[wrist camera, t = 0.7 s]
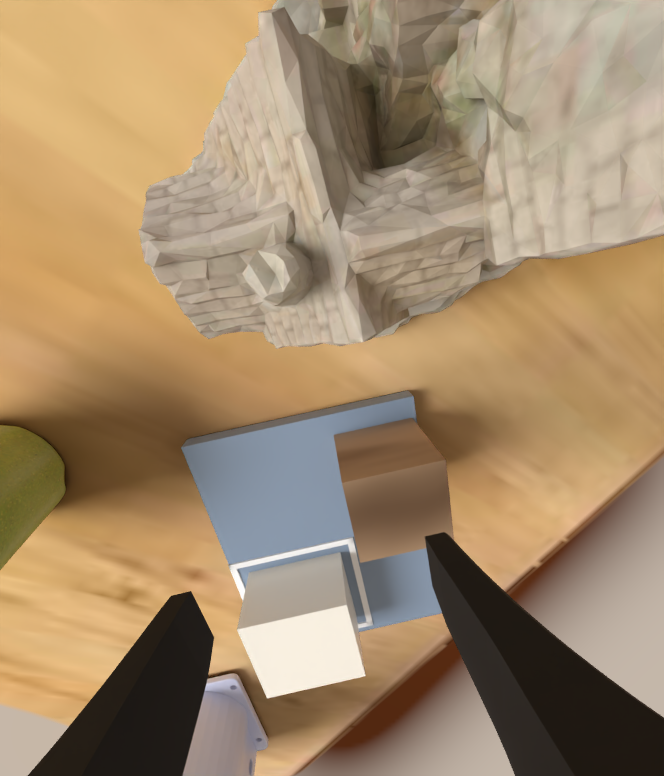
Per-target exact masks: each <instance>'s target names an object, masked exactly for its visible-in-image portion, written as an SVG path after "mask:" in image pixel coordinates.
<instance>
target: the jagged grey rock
mask: <svg viewBox="0 0 664 776" xmlns="http://www.w3.org/2000/svg"><path fill="white" fill-rule="evenodd" d="M258 21H259V36H257V37H256V38H254V39H252V40H251V41H249V42H247V43H245V46H246V55H245V57H244V58H243V60H242V61H241V63H240V64H239V66H238V67H237V69H236V71H235V72H234V74H233V75H232V77H231V78H230V80H229V81H228V82H227V85H226V89H225V93H224V97H223V100H222V101H221V102H220V103H219V105H218V106H217V108H216V110H215V111H214V113H213V114H214V117H213V119H212V120H211V122H210V123H209V126H208V128H207V130H206V131H205V133H204V141H203V151H202V153H201V154H199V155H198V156H197V157H195V158H194V159H192V166H191V167H190V168H189V169H188V170H187V171H186V172H185V173H184V174H182V175H178V176H173V177H170V178H167V179H165V180H162V181H160V182H158V183H155V184H153V185H150V186H149V188H148V190H147V192H146V204H145V208H144V213H143V222H142V226H141V229H139V234H140V240H141V245H142V250H143V255H144V260H145V263H146V264H148V265H150V266H151V269H152V273H153V274H154V276H155V277H156V279H157V280H158V282H159V283H160V284H163V285H166V286H167V288H168V289H169V291H170V292H171V294H172V295H173V297H174V299H175V300H176V302H177V303H178V305H179V306H180V308H181V310H182V311H183V313H184V314H185V315H186V316H187V317H188V318H189V319H190V321H191V322H192V323H193V325H194V326H195V327H196V329H197V330H198V331H199V332H200V333H201V334H202V335H204V336H205V337H207V338H208V339H210V338H213V337H216V336H219V335H222V334H226V333H234V332H263V333H264V335H265V338H266V340H267V341H268V342H270V343H272V344H274V345H275V347H276V349H277V348H282V347H286V346H298V347H303V346H315V345H319V344H323V343H325V344H331V345H337V346H343V345H348V344H354V343H360V342H365V341H367V340H370V339H372V338H373V337H381V336H385V335H390V334H394V332H395V331H396V330H397V328H398V327H400V326H402V325H404V324H407V323H408V322H409V321H410V319H411V318H412V317H415V316H417V315H420V314H430V313H437V312H440V311H442V310H444V309H446V308H447V307H449V306H451V305H452V304H453V302H454V301H455V300H457V299H459V298H461V297H462V296H463V295H464V294H465V293H467V292H468V291H469V290H470V289H471V288H473V287H474V286H475V285H477V284H479V283H481V282H483V281H488V280H492V279H497V278H501V277H502V276H504V275H505V274H506V273H508V272H509V271H510V270H512V269H514V268H515V267H517V266H518V265H520V264H521V262H522V261H524V260H527V259H529V258H535V259H560V258H566V257H571V256H576V255H581V254H587V253H592V252H596V251H601V250H606V249H610V248H615V247H620V246H625V245H629V244H633V243H637V242H641V241H644V240H648V239H652V238H655V237H659V236H663V235H664V0H277V1H276V3H275V4H274V5H273V8H272V10H267V11H263V12H258Z"/></svg>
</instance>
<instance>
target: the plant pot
mask: <svg viewBox="0 0 664 776" xmlns="http://www.w3.org/2000/svg"><path fill="white" fill-rule="evenodd" d="M64 469H65V466H64V463H63V461H62V459H61V457H60V456H59V455H58V453H57V452H56V451H55V450H54V448H53V447H52V446H51V445H50V444H48V443H47V442H46V441H45V440H43V439H42V438H41V437H39V436H38V435H36V434H34V433H33V432H30V431H28V430H26V429H24V428H21V427H17V426H6V425H0V570H1V569H2V568H3V566H4V565H5V564H6V563H7V562H8V560H9V559H10V558H11V557H12V556H13V555H14V554H15V552H16V551H17V550H18V549H19V548H20V547H21V545H22V544H23V543H24V542H25V541H26V540H27V539H28V537H29V536H30V535H31V534H32V533H33V532H34V531H35V529H36V528H37V527H38V526H39V525H40V524H41V523H42V521H43V520H44V519H45V518H46V517H47V516H48V515H49V513H50V512H51V511H52V510H53V509H54V507H55V506H56V505H57V504H58V503H59V502H60V500H61V499H62V497H63V496H64V494H65V491H66V487H65V483H64Z"/></svg>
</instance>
